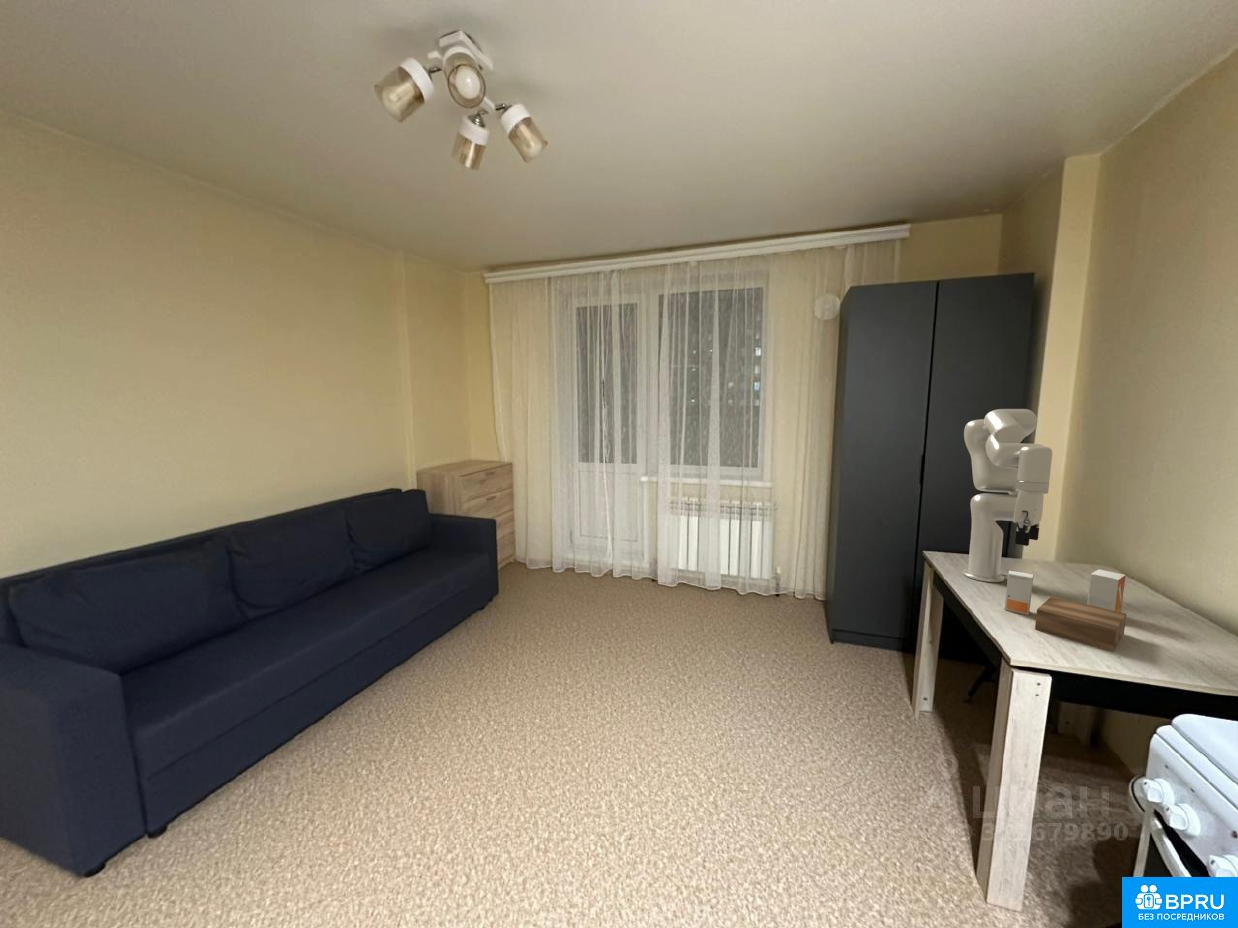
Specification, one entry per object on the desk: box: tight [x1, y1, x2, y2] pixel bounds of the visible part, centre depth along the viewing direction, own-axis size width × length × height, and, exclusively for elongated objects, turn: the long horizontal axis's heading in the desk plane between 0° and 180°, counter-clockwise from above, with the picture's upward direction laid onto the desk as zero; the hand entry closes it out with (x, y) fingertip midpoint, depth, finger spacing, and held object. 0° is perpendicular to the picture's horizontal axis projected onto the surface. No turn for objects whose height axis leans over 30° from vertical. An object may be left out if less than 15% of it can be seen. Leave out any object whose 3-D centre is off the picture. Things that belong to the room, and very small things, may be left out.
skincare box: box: [1004, 570, 1034, 616], centre depth 152 cm, size 6×4×12 cm
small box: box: [1086, 568, 1127, 613], centre depth 148 cm, size 8×6×13 cm
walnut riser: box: [1034, 595, 1127, 652], centre depth 138 cm, size 16×16×6 cm
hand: (1026, 541), depth 149 cm, fingers open, 9 cm apart
